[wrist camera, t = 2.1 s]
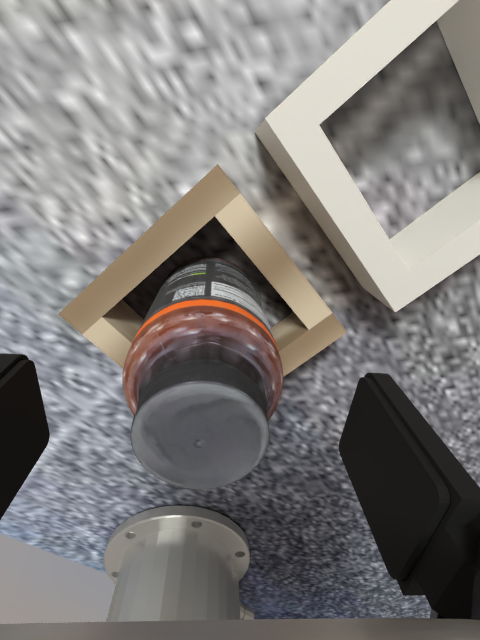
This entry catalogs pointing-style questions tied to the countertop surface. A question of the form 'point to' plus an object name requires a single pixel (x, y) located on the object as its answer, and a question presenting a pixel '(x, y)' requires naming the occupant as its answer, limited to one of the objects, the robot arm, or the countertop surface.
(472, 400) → the countertop surface
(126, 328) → the block
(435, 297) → the countertop surface
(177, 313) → the supplement bottle
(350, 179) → the socket block
